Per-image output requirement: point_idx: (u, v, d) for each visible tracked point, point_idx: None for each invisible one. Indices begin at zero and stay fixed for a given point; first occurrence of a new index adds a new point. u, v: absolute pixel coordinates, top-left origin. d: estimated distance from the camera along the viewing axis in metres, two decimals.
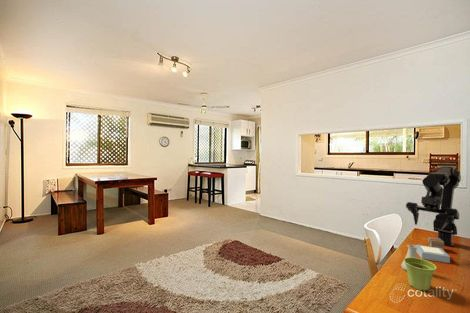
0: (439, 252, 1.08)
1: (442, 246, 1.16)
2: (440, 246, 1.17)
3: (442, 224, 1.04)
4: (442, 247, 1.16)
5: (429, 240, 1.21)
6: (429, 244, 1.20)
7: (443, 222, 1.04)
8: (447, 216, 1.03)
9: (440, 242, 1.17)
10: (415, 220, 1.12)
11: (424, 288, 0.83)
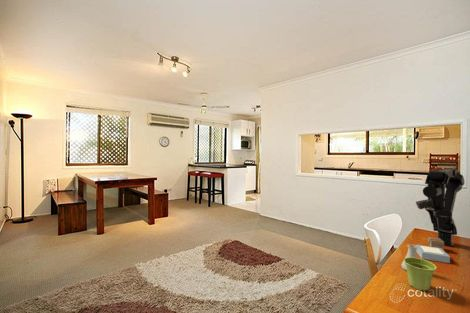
0: (439, 252, 1.08)
1: (442, 246, 1.16)
2: (440, 246, 1.17)
3: (437, 224, 1.15)
4: (442, 247, 1.16)
5: (429, 240, 1.21)
6: (429, 244, 1.20)
7: (437, 222, 1.15)
8: (436, 217, 1.14)
9: (440, 242, 1.17)
10: (431, 219, 1.24)
11: (424, 288, 0.83)
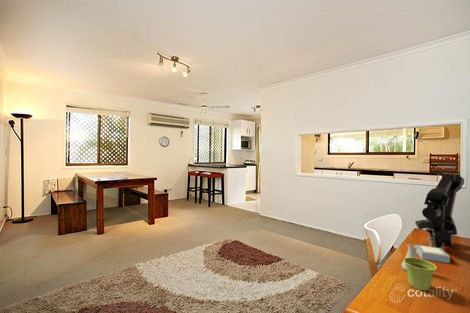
0: (439, 252, 1.08)
1: (442, 246, 1.16)
2: None
3: (435, 243, 1.17)
4: (442, 247, 1.16)
5: (429, 240, 1.21)
6: (429, 244, 1.20)
7: (435, 242, 1.17)
8: (433, 237, 1.16)
9: None
10: None
11: (424, 288, 0.83)
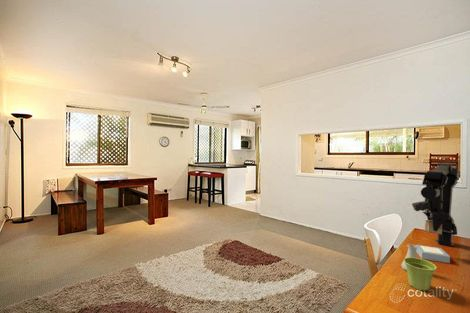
0: (439, 252, 1.08)
1: (440, 228, 1.10)
2: None
3: (433, 226, 1.10)
4: (440, 229, 1.10)
5: (426, 222, 1.14)
6: (427, 226, 1.14)
7: (433, 224, 1.10)
8: (431, 218, 1.10)
9: None
10: None
11: (424, 288, 0.83)
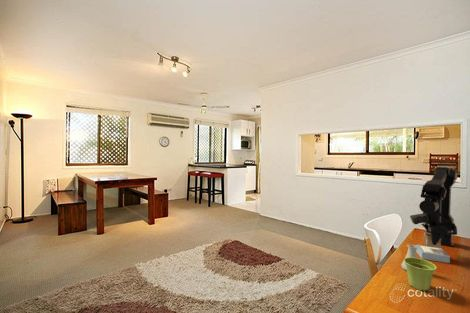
0: (439, 252, 1.08)
1: (439, 242, 1.07)
2: None
3: (432, 239, 1.08)
4: (439, 243, 1.07)
5: (425, 235, 1.12)
6: (425, 240, 1.11)
7: (431, 237, 1.08)
8: (429, 232, 1.07)
9: None
10: None
11: (424, 288, 0.83)
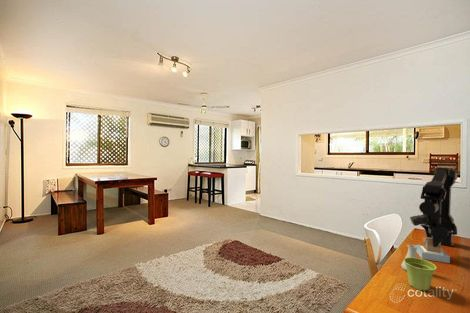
0: None
1: (439, 246, 1.07)
2: None
3: (432, 241, 1.07)
4: (439, 248, 1.07)
5: (425, 240, 1.12)
6: (425, 244, 1.11)
7: (432, 240, 1.07)
8: (430, 234, 1.06)
9: None
10: None
11: (424, 288, 0.83)
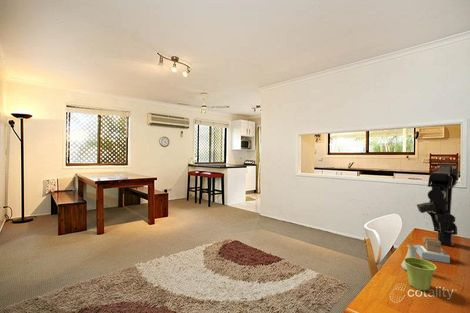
0: None
1: (439, 246, 1.07)
2: (436, 246, 1.08)
3: (440, 228, 1.09)
4: (439, 248, 1.07)
5: (425, 240, 1.12)
6: (425, 244, 1.11)
7: (439, 226, 1.09)
8: (438, 221, 1.08)
9: (436, 242, 1.08)
10: (433, 223, 1.18)
11: (424, 288, 0.83)
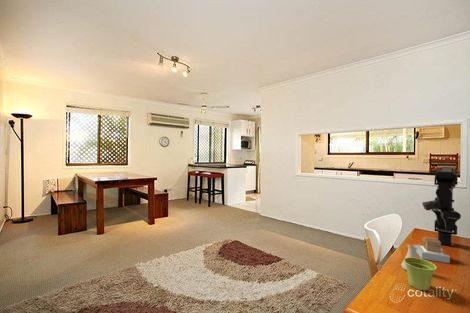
0: None
1: (439, 246, 1.07)
2: (436, 246, 1.08)
3: (445, 225, 1.11)
4: (439, 248, 1.07)
5: (425, 240, 1.12)
6: (425, 244, 1.11)
7: (445, 224, 1.11)
8: (443, 218, 1.10)
9: (436, 242, 1.08)
10: (438, 221, 1.20)
11: (424, 288, 0.83)
